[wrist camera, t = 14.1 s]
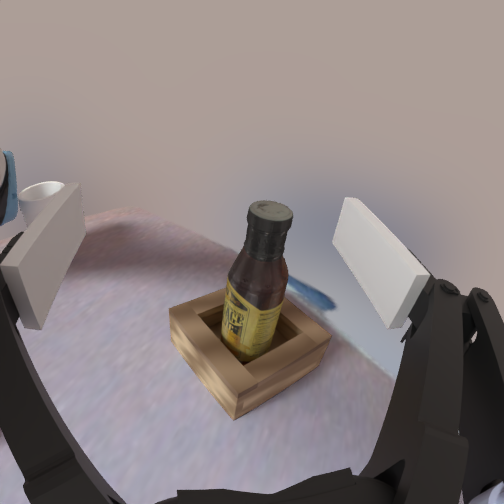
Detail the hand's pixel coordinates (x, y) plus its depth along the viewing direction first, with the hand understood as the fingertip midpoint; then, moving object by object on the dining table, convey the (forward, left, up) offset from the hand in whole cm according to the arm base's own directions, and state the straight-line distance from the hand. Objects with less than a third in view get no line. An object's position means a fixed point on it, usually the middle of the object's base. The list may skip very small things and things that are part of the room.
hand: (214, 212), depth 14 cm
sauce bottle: (-7, +11, -25) cm, 28 cm away
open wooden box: (-7, +11, -25) cm, 29 cm away
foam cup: (-45, -8, -26) cm, 53 cm away
